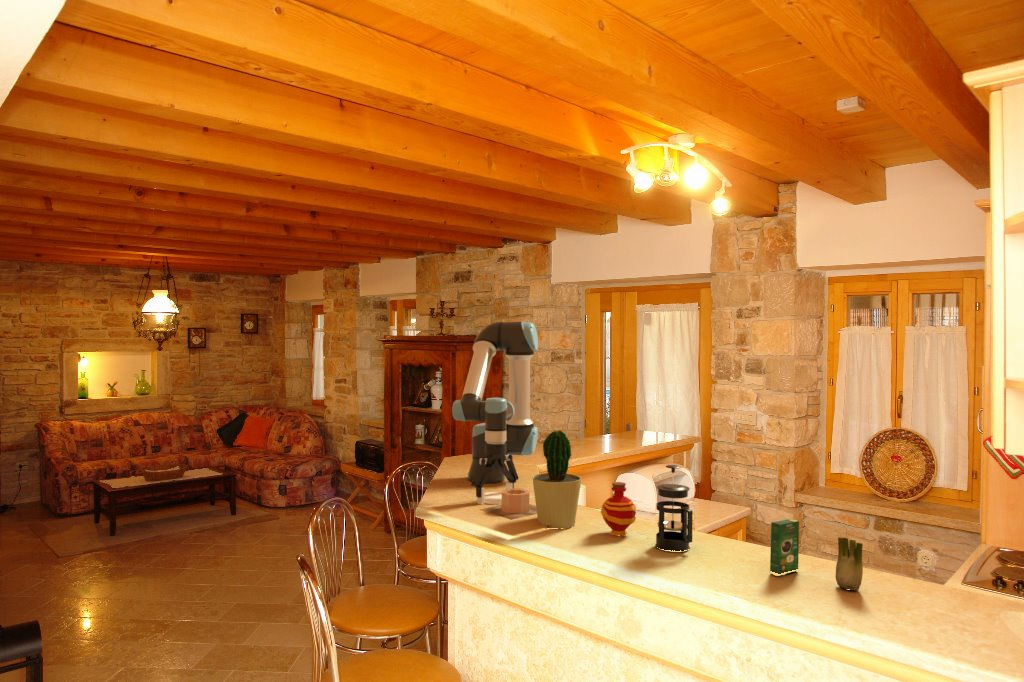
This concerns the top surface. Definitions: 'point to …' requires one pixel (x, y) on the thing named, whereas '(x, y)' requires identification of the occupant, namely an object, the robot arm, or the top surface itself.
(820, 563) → the top surface
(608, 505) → the potion bottle
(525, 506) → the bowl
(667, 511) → the french press
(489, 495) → the cream flat cylinder
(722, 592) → the top surface
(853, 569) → the fennel bulb
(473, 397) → the robot arm
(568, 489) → the potted cactus
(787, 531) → the coffee box
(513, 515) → the board
